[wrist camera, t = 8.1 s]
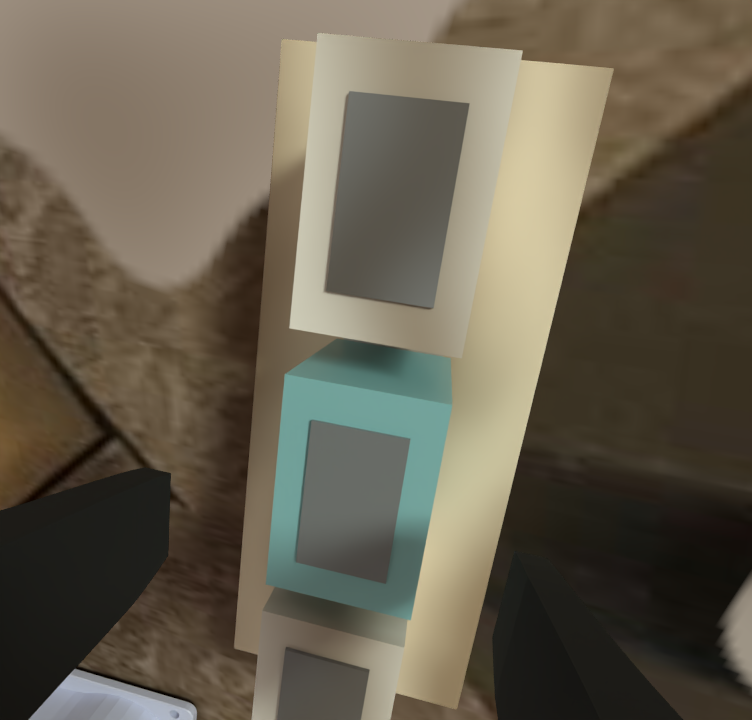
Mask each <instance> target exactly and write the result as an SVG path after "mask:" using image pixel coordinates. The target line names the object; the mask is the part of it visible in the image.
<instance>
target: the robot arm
mask: <svg viewBox="0 0 752 720" xmlns="http://www.w3.org/2000/svg"><path fill="white" fill-rule="evenodd" d="M170 481H171V473H167V472H163V471H158V470H154V469H150V468H140V469H136V470H131V471H128V472H124V473H120V474H117V475H113V476H110V477H107V478H104V479H100V480H97V481H94V482H91V483H88V484H84V485H81V486H78V487H75V488H72V489H69V490H66V491H62V492H59V493H56V494H53V495H50V496H47V497H44V498H40V499H37V500H34V501H31V502H28V503H25V504H21V505H18V506H15V507H11V508H8V509H4V510H1V511H0V720H197V711H196V708H195V706H194V705H193V704H192V703H189V702H186V701H183V700H180V699H176V698H173V697H169V696H166V695H163V694H159V693H156V692H153V691H149V690H146V689H142V688H139V687H136V686H132V685H129V684H125V683H122V682H119V681H115V680H112V679H108V678H105V677H102V676H98V675H95V674H92V673H88V672H85V671H81V670H78V669H75V668H76V667H77V666H78V665H79V664H80V662H81V661H82V660H83V659H84V658H85V657H86V656H87V655H88V654H89V653H90V652H91V650H92V649H93V648H94V647H95V646H96V645H97V644H98V643H99V642H100V641H101V639H102V638H103V637H104V636H105V635H106V634H107V633H108V632H109V631H110V629H111V628H112V627H113V626H114V625H115V624H116V623H117V622H118V621H119V619H120V618H121V617H122V616H123V615H124V614H125V613H126V612H127V610H128V609H129V608H130V607H131V606H132V605H133V604H134V602H135V601H136V600H137V599H138V597H139V596H140V595H141V593H142V592H143V591H144V589H145V588H146V587H147V585H148V584H149V582H150V581H151V580H152V578H153V577H154V575H155V574H156V573H157V571H158V570H159V568H160V567H161V565H162V564H163V562H164V561H165V559H166V558H167V557H168V545H169V513H170ZM493 666H494V686H495V700H496V707H497V714H498V720H683V719H682V718H681V717H680V716H679V715H678V713H677V712H676V711H675V710H674V709H673V708H672V707H671V706H670V705H669V703H668V702H667V701H666V700H665V699H664V698H663V697H662V696H661V695H660V694H659V692H658V691H657V690H656V689H655V688H654V687H653V686H652V685H651V684H650V682H649V681H648V680H647V679H646V678H645V677H644V675H643V674H642V673H641V672H640V671H639V670H638V669H637V667H636V666H635V665H634V664H633V663H632V662H631V660H630V659H629V658H628V657H627V656H626V654H625V653H624V652H623V651H622V650H621V649H620V647H619V646H618V645H617V644H616V643H615V641H614V640H613V639H612V638H611V636H610V635H609V634H608V633H607V632H606V630H605V629H604V628H603V627H602V625H601V624H600V623H599V622H598V621H597V619H596V618H595V617H594V616H593V614H592V613H591V612H590V611H589V609H588V608H587V607H586V606H585V604H584V603H583V602H582V601H581V599H580V598H579V597H578V596H577V594H576V593H575V592H574V591H573V589H572V588H571V587H570V585H569V584H568V583H567V582H566V580H565V579H564V578H563V577H562V575H561V574H560V573H559V572H558V570H557V569H556V568H555V567H554V566H553V564H552V563H551V562H550V561H549V560H548V559H547V558H544V557H539V556H535V555H531V554H526V553H522V552H517V551H515V552H514V556H513V559H512V563H511V567H510V571H509V575H508V579H507V583H506V587H505V590H504V594H503V598H502V602H501V606H500V610H499V614H498V618H497V622H496V625H495V629H494V633H493Z"/></svg>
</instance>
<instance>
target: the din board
mask: <svg viewBox="0 0 752 720" xmlns="http://www.w3.org/2000/svg"><path fill="white" fill-rule="evenodd" d="M522 52H523V51H521V50H509V49H498V48H486V47H474V46H463V45H451V44H440V43H428V42H416V41H404V40H393V39H381V38H370V37H358V36H346V35H335V34H323V33H318V35H317V42H309V41H299V40H287V39H282V46H281V58H280V70H279V83H278V95H277V108H276V121H275V133H274V146H273V159H272V172H271V184H270V197H269V210H268V222H267V235H266V248H265V260H264V273H263V286H262V298H261V311H260V324H259V337H258V349H257V362H256V375H255V387H254V400H253V413H252V425H251V438H250V451H249V464H248V476H247V489H246V502H245V514H244V527H243V540H242V552H241V565H240V578H239V591H238V603H237V616H236V629H235V641H234V649H238V650H242V651H245V652H249V653H253V654H256V655H258V660H257V670H256V681H255V691H254V701H253V712H252V720H390V718H391V713H392V708H393V703H394V698H395V693H398V694H402V695H405V696H409V697H413V698H416V699H420V700H424V701H427V702H431V703H435V704H438V705H442V706H445V707H449V708H453V709H456V710H457V706H458V702H459V698H460V694H461V690H462V686H463V682H464V678H465V674H466V670H467V666H468V661H469V657H470V653H471V649H472V645H473V641H474V637H475V633H476V629H477V625H478V621H479V617H480V613H481V608H482V604H483V600H484V596H485V592H486V588H487V584H488V580H489V576H490V572H491V568H492V564H493V559H494V555H495V551H496V547H497V543H498V539H499V535H500V531H501V527H502V523H503V519H504V515H505V511H506V506H507V502H508V498H509V494H510V490H511V486H512V482H513V478H514V474H515V470H516V466H517V462H518V458H519V453H520V449H521V445H522V441H523V437H524V433H525V429H526V425H527V421H528V417H529V413H530V409H531V405H532V400H533V396H534V392H535V388H536V384H537V380H538V376H539V372H540V368H541V364H542V360H543V356H544V352H545V347H546V343H547V339H548V335H549V331H550V327H551V323H552V319H553V315H554V311H555V307H556V303H557V299H558V294H559V290H560V286H561V282H562V278H563V274H564V270H565V266H566V262H567V258H568V254H569V250H570V245H571V241H572V237H573V233H574V229H575V225H576V221H577V217H578V213H579V209H580V205H581V201H582V197H583V192H584V188H585V184H586V180H587V176H588V172H589V168H590V164H591V160H592V156H593V152H594V148H595V144H596V139H597V135H598V131H599V127H600V123H601V119H602V115H603V111H604V107H605V103H606V99H607V95H608V91H609V86H610V82H611V78H612V74H613V70H614V68H603V67H592V66H580V65H569V64H558V63H547V62H535V61H524V60H521V57H522ZM335 339H342V340H348V341H354V342H360V343H366V344H371V345H377V346H383V347H389V348H395V349H401V350H407V351H412V352H418V353H424V354H430V355H436V356H442V357H448V358H451V379H452V410H451V415H450V420H449V425H448V431H447V436H446V441H445V446H444V451H443V457H442V462H441V467H440V472H439V477H438V482H437V488H436V493H435V498H434V503H433V508H432V514H431V519H430V524H429V529H428V534H427V539H426V545H425V550H424V555H423V560H422V565H421V571H420V576H419V581H418V586H417V591H416V596H415V602H414V607H413V612H412V617H411V620H407V619H403V618H399V617H395V616H391V615H387V614H383V613H379V612H375V611H371V610H367V609H363V608H359V607H355V606H351V605H347V604H343V603H338V602H334V601H330V600H326V599H322V598H318V597H314V596H310V595H306V594H302V593H298V592H294V591H290V590H286V589H282V588H278V587H274V586H270V585H266V575H267V564H268V553H269V542H270V531H271V520H272V509H273V498H274V488H275V477H276V466H277V455H278V444H279V433H280V422H281V411H282V400H283V389H284V378H285V374H286V373H287V372H289V371H290V370H292V369H293V368H295V367H296V366H297V365H299V364H300V363H302V362H303V361H305V360H306V359H308V358H309V357H311V356H312V355H314V354H315V353H316V352H318V351H319V350H321V349H322V348H324V347H325V346H327V345H328V344H330V343H331V342H332V341H334V340H335Z"/></svg>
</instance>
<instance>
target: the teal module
mask: <svg viewBox="0 0 752 720" xmlns="http://www.w3.org/2000/svg"><path fill="white" fill-rule="evenodd" d="M451 410H452V379H451V358H448V357H442V356H436V355H430V354H424V353H418V352H412V351H407V350H401V349H395V348H389V347H383V346H377V345H371V344H366V343H360V342H354V341H348V340H342V339H335V340H334V341H332V342H331V343H330V344H328V345H327V346H325V347H324V348H322V349H321V350H319V351H318V352H316V353H315V354H314V355H312V356H311V357H309V358H308V359H306V360H305V361H303V362H302V363H300V364H299V365H297V366H296V367H295V368H293V369H292V370H290V371H289V372H287V373H286V374H285V378H284V389H283V400H282V411H281V422H280V433H279V444H278V455H277V466H276V477H275V488H274V498H273V509H272V520H271V531H270V542H269V553H268V564H267V575H266V585H270V586H274V587H278V588H282V589H286V590H290V591H294V592H298V593H302V594H306V595H310V596H314V597H318V598H322V599H326V600H330V601H334V602H338V603H343V604H347V605H351V606H355V607H359V608H363V609H367V610H371V611H375V612H379V613H383V614H387V615H391V616H395V617H399V618H403V619H407V620H411V617H412V612H413V607H414V602H415V596H416V591H417V586H418V581H419V576H420V571H421V565H422V560H423V555H424V550H425V545H426V539H427V534H428V529H429V524H430V519H431V514H432V508H433V503H434V498H435V493H436V488H437V482H438V477H439V472H440V467H441V462H442V457H443V451H444V446H445V441H446V436H447V431H448V425H449V420H450V415H451Z"/></svg>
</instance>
